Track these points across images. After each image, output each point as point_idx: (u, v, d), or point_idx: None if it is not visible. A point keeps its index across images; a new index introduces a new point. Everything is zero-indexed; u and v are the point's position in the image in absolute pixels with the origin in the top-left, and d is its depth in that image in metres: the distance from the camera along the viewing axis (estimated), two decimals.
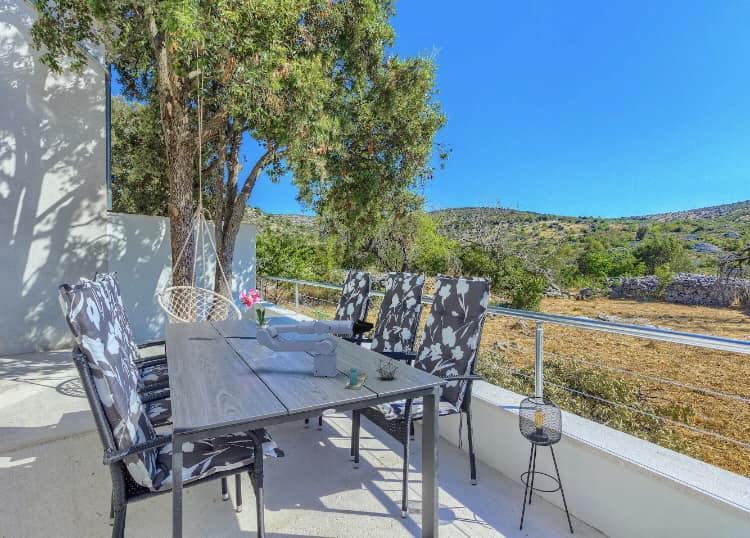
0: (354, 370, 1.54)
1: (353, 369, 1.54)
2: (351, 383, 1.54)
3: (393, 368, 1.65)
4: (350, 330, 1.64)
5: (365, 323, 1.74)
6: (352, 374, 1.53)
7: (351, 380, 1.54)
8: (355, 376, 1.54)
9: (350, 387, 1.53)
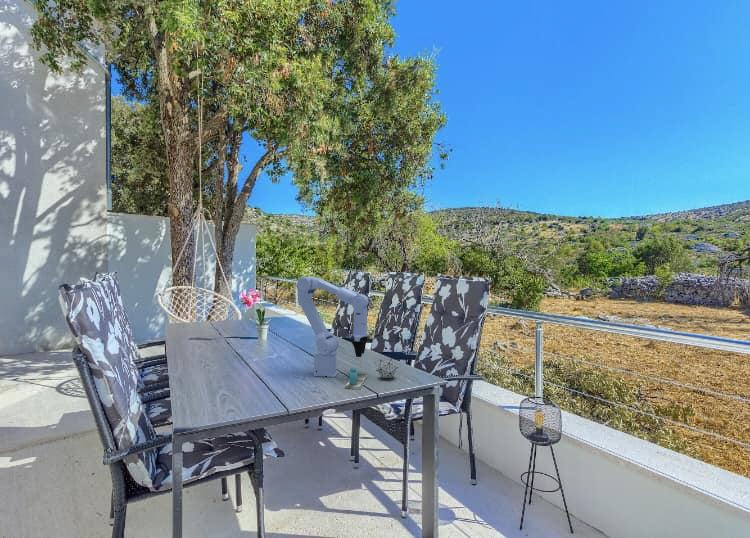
0: (354, 370, 1.54)
1: (353, 369, 1.54)
2: (351, 383, 1.54)
3: (393, 368, 1.65)
4: (356, 339, 1.61)
5: (364, 345, 1.72)
6: (352, 374, 1.53)
7: (351, 380, 1.54)
8: (355, 376, 1.54)
9: (350, 387, 1.53)
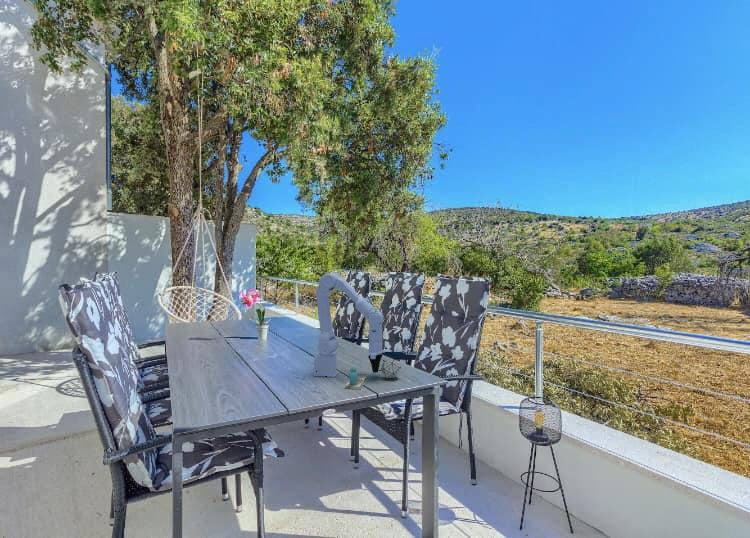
0: (354, 370, 1.54)
1: (353, 369, 1.54)
2: (351, 383, 1.54)
3: (396, 368, 1.65)
4: (372, 357, 1.61)
5: None
6: (352, 374, 1.54)
7: (351, 380, 1.54)
8: (355, 376, 1.54)
9: (350, 387, 1.53)
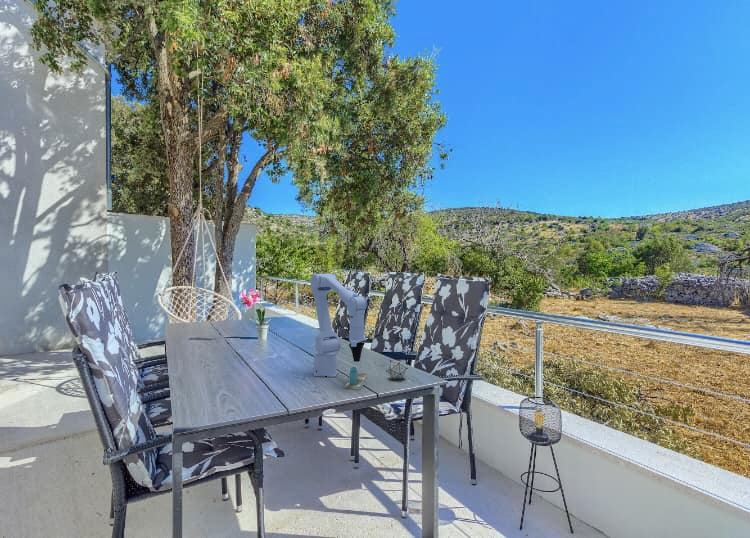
0: (354, 370, 1.54)
1: (353, 369, 1.54)
2: (351, 383, 1.54)
3: (403, 369, 1.64)
4: (352, 345, 1.50)
5: None
6: (352, 374, 1.53)
7: (351, 380, 1.54)
8: (355, 376, 1.54)
9: (350, 387, 1.53)
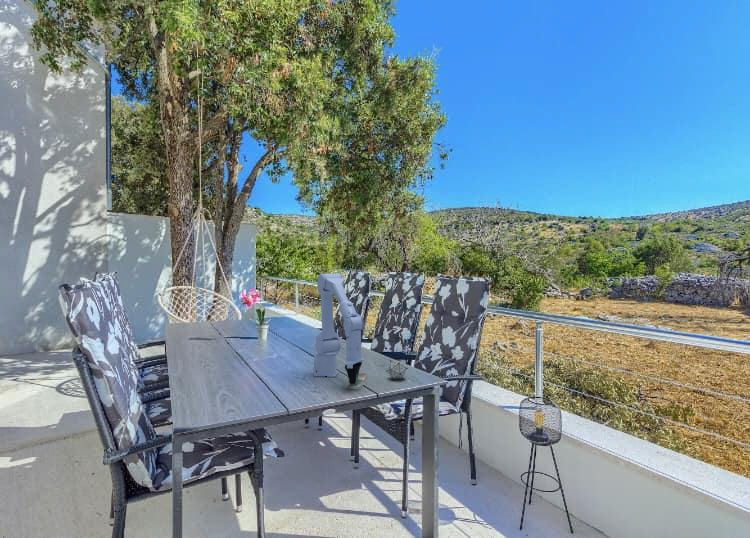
0: None
1: None
2: None
3: (403, 369, 1.64)
4: (349, 366, 1.48)
5: (357, 372, 1.56)
6: None
7: None
8: None
9: (350, 387, 1.53)
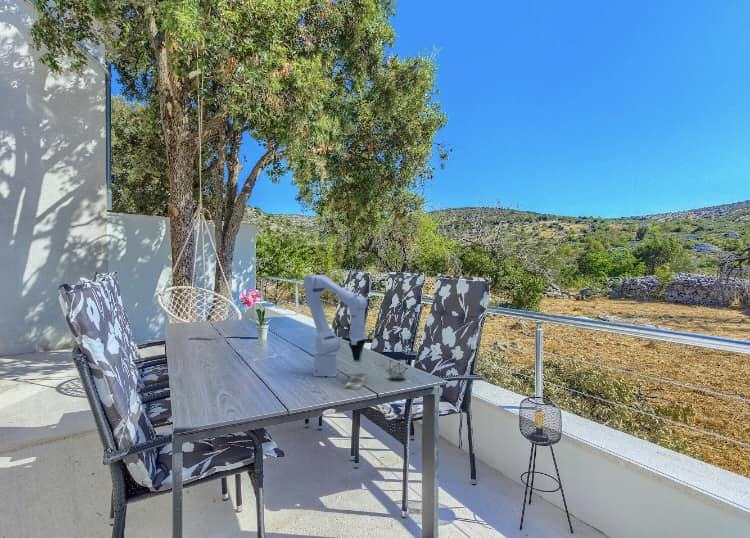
0: None
1: None
2: (355, 360, 1.62)
3: (403, 369, 1.64)
4: (353, 343, 1.56)
5: (360, 349, 1.64)
6: None
7: None
8: None
9: (350, 387, 1.53)
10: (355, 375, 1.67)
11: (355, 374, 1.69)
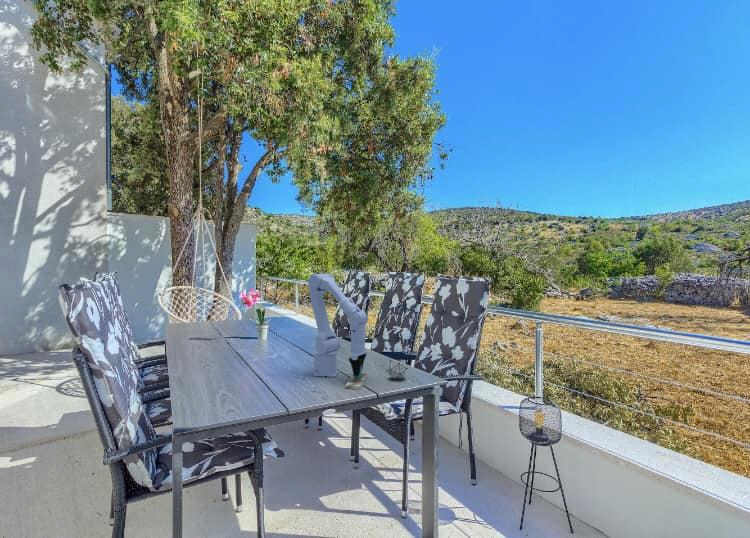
0: None
1: None
2: (355, 376, 1.63)
3: (403, 369, 1.64)
4: (353, 358, 1.57)
5: (361, 363, 1.67)
6: None
7: None
8: None
9: (350, 387, 1.53)
10: None
11: None
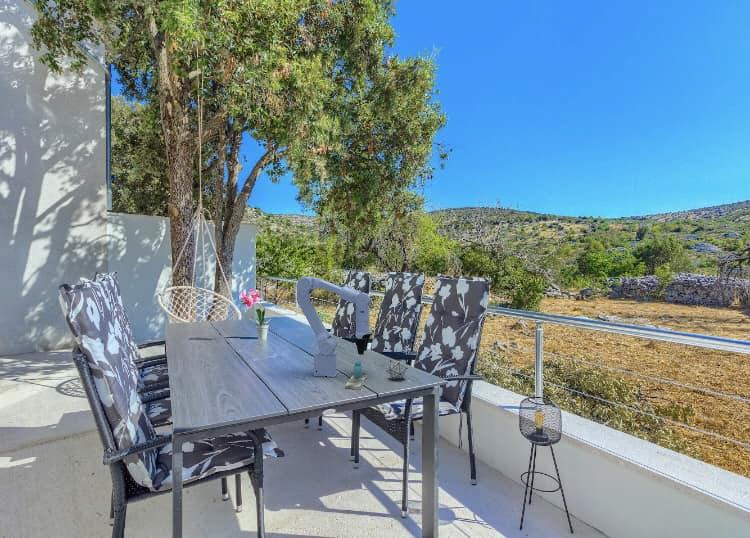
0: (358, 364, 1.63)
1: (357, 363, 1.63)
2: (355, 376, 1.63)
3: (403, 369, 1.64)
4: (358, 337, 1.64)
5: (366, 342, 1.75)
6: (356, 368, 1.62)
7: (355, 373, 1.63)
8: (359, 370, 1.63)
9: (350, 387, 1.53)
10: None
11: None
